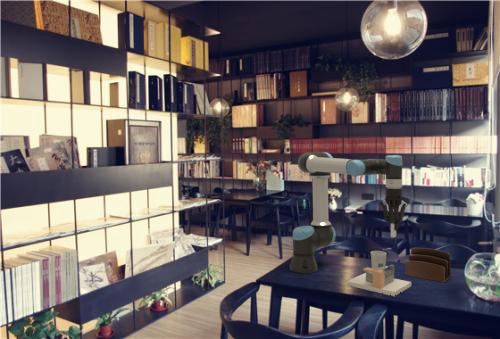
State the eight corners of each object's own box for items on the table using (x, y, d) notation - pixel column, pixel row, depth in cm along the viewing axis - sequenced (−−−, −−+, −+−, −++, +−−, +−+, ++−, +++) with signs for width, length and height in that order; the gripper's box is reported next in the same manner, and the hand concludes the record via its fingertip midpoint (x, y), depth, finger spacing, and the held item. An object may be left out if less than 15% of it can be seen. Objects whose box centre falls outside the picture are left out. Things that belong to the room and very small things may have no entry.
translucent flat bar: (368, 273, 205) (368, 270, 205) (383, 267, 216) (383, 265, 216) (375, 274, 202) (375, 272, 202) (390, 268, 214) (390, 266, 214)
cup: (387, 277, 222) (387, 254, 221) (371, 277, 223) (371, 254, 223) (385, 273, 229) (385, 251, 229) (370, 272, 231) (370, 250, 230)
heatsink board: (347, 285, 211) (347, 267, 210) (365, 276, 225) (366, 259, 224) (394, 296, 194) (394, 276, 194) (411, 286, 208) (411, 267, 208)
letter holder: (411, 271, 233) (412, 245, 233) (450, 278, 221) (451, 251, 220) (404, 275, 226) (405, 249, 225) (444, 283, 213) (445, 255, 212)
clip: (362, 284, 205) (363, 268, 205) (367, 282, 208) (367, 267, 207) (380, 288, 199) (380, 272, 198) (384, 286, 202) (384, 270, 201)
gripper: (377, 187, 206) (377, 236, 208) (403, 189, 198) (403, 240, 199) (384, 186, 212) (384, 233, 213) (410, 187, 203) (410, 237, 204)
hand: (393, 236), depth 206 cm, fingers closed
